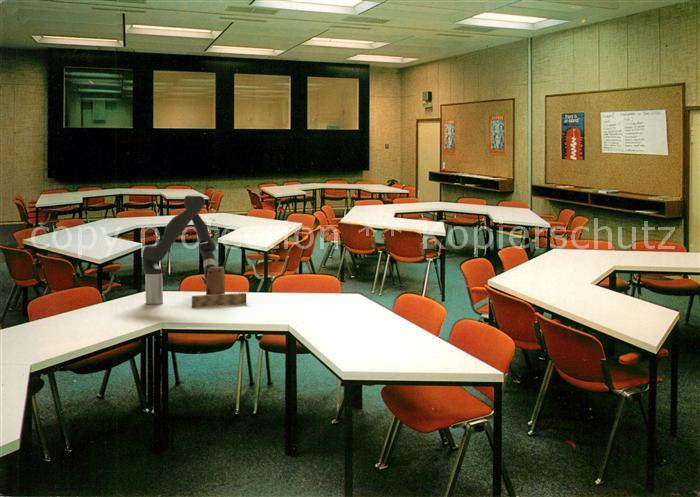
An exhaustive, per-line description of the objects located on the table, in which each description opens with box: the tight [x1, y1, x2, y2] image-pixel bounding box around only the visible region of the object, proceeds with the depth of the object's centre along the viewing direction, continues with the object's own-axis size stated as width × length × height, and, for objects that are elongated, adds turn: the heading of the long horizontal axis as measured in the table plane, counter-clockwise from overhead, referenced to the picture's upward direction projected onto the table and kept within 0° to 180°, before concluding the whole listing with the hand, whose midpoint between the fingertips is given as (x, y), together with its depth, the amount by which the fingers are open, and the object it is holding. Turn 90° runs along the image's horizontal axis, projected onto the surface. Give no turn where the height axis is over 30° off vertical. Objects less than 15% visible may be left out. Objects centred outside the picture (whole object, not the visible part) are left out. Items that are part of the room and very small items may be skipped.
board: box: [191, 292, 247, 308], centre depth 331 cm, size 30×3×6 cm, turn 111°
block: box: [205, 265, 226, 295], centre depth 344 cm, size 11×8×20 cm
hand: (213, 290), depth 351 cm, fingers closed
